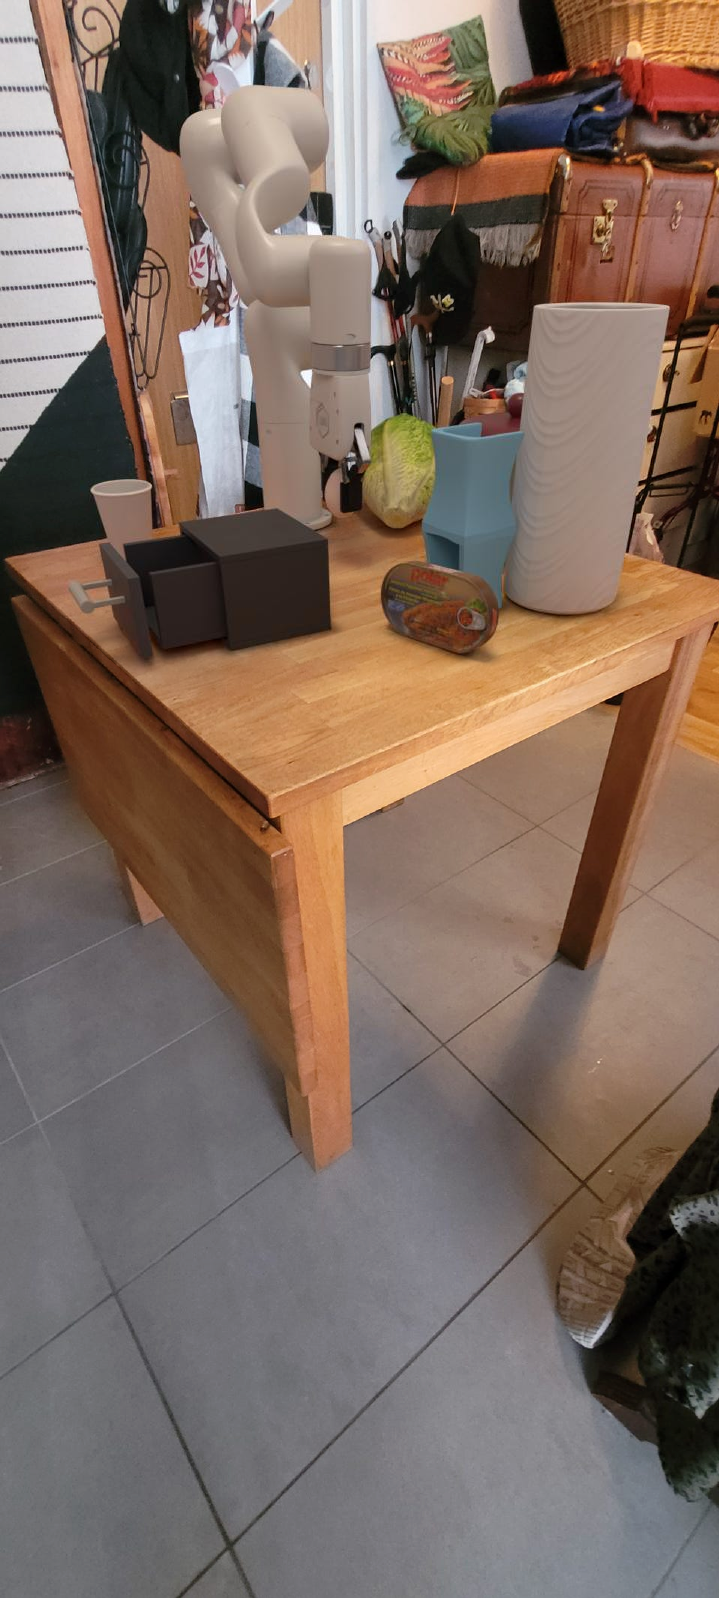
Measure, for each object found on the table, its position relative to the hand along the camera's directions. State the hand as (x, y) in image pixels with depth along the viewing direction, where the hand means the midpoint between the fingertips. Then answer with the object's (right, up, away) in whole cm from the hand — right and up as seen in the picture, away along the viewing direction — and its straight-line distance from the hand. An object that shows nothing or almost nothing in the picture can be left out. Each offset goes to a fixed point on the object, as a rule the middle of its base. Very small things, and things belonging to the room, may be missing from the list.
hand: (342, 504), depth 108 cm
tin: (+11, -24, -20) cm, 33 cm away
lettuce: (+9, +6, +21) cm, 24 cm away
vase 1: (+16, -17, -11) cm, 26 cm away
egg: (0, -2, +1) cm, 2 cm away
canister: (+24, -5, +5) cm, 25 cm away
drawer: (-21, -22, -20) cm, 36 cm away
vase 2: (+28, -16, -9) cm, 34 cm away
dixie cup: (-31, -6, +5) cm, 32 cm away
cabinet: (-10, -20, -15) cm, 26 cm away
